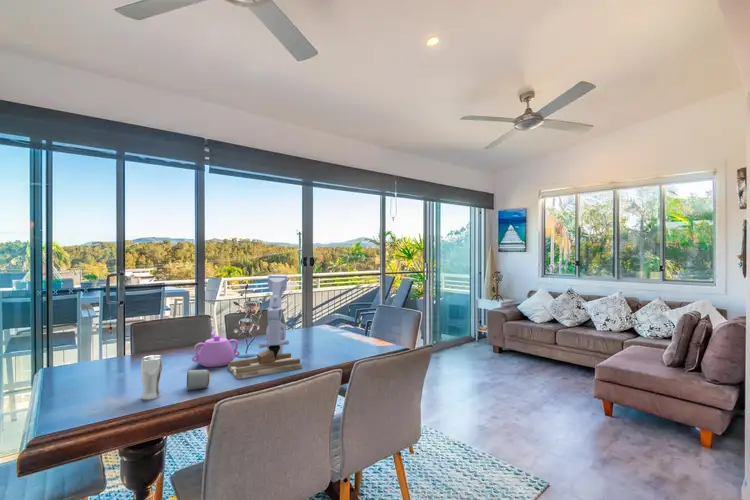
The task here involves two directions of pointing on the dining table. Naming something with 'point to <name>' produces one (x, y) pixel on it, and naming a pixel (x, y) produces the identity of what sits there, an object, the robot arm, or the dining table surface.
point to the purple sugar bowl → (215, 351)
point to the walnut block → (266, 357)
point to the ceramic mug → (197, 379)
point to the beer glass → (151, 376)
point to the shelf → (263, 366)
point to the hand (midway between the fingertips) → (273, 361)
